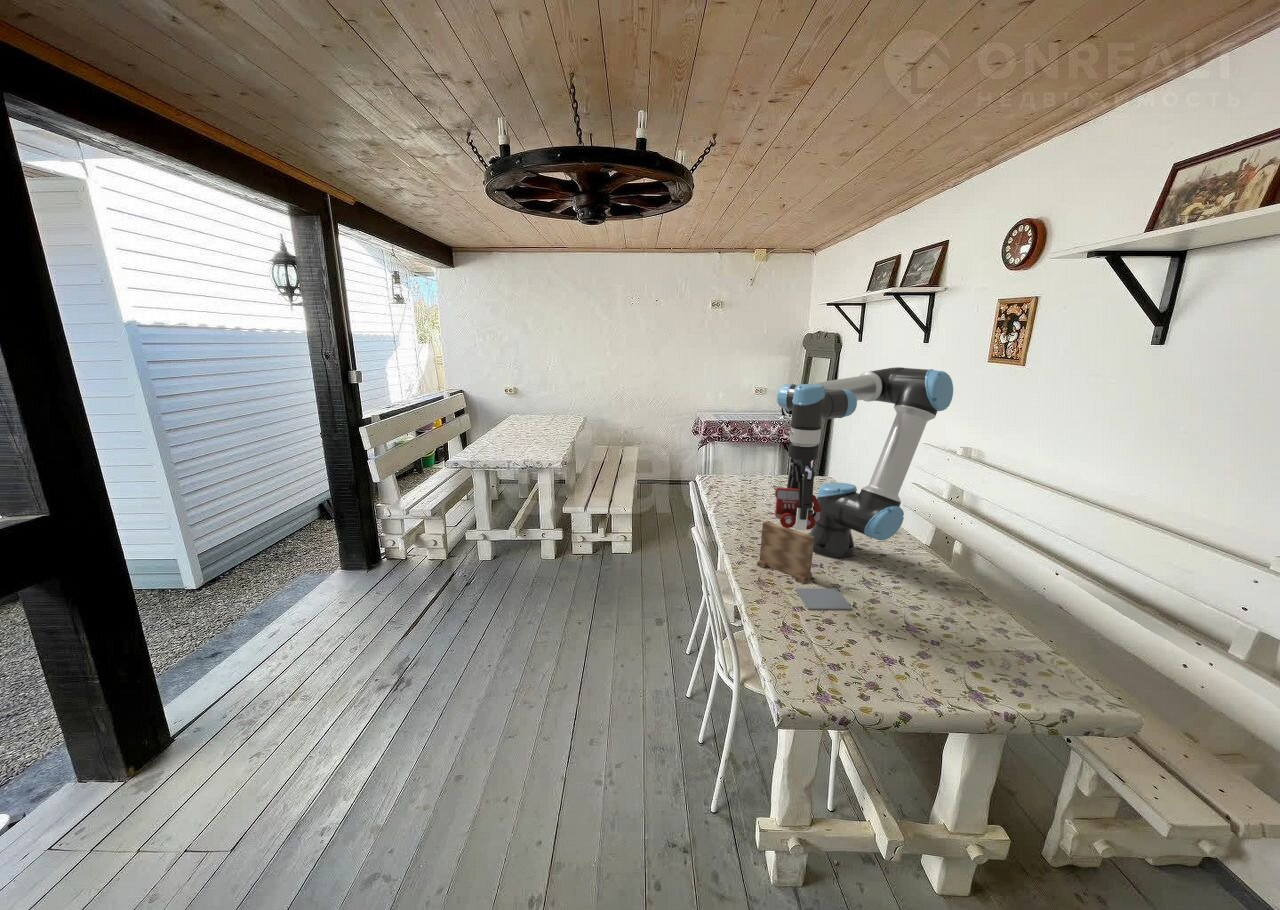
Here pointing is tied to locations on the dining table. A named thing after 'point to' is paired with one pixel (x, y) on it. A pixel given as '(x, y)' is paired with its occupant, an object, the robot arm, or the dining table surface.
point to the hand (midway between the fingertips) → (796, 523)
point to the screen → (786, 551)
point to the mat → (823, 599)
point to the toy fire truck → (794, 508)
